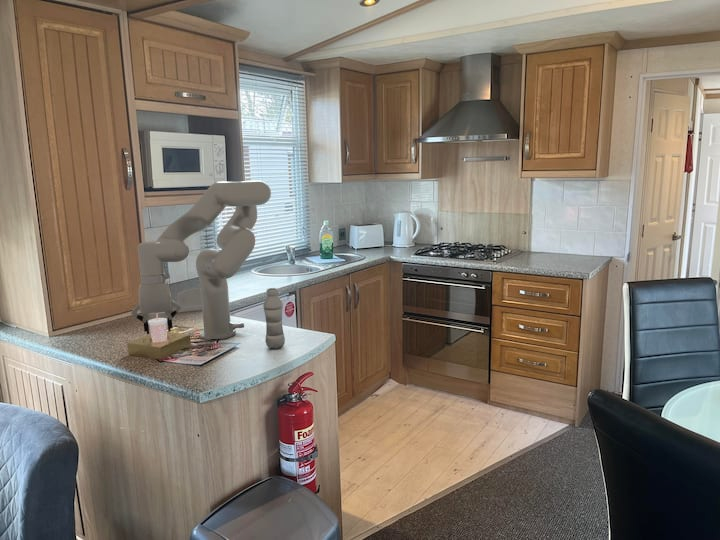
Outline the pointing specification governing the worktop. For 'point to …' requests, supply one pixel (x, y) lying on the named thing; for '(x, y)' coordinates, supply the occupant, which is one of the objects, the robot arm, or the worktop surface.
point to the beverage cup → (158, 329)
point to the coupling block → (158, 345)
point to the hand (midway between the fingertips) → (158, 331)
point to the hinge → (190, 300)
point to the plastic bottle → (273, 319)
